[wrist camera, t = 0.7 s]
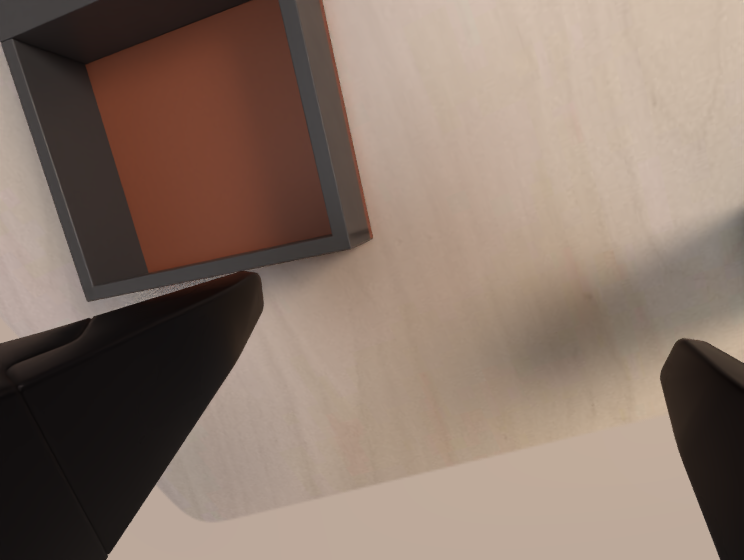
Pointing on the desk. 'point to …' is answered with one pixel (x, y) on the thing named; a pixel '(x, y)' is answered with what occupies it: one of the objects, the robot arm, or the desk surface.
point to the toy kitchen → (186, 135)
